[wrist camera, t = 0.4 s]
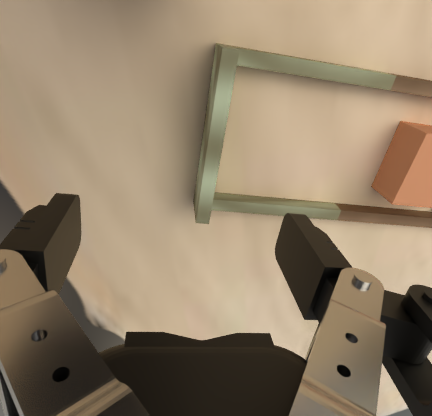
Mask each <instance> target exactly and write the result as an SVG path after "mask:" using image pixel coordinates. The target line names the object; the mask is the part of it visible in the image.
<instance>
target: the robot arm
mask: <svg viewBox="0 0 432 416" xmlns="http://www.w3.org/2000/svg"><path fill="white" fill-rule="evenodd" d="M80 241H81V212H80V198H79V195H73V194H61V193H56V194H55V195H54V196H53V198H52V199H51V200H50V202H49V203H48V205H47V206H44V205H38V206H36V207H35V208H33V209H31V210H29V211H27V212H26V213H25V215H24V216H23V217H22V218H21V220H20V222H18V223H17V225H16V226H15V228H14V229H12V231H11V232H10V233H9V234H8V235H7V237H6V238H5V239H4V240H3V242H2V243H1V244H0V401H1V404H2V408H3V411H4V414H5V416H376V411H377V402H378V393H379V384H380V375H381V366H382V363H383V365H384V367H385V368H386V370H387V372H388V373H389V375H390V377H391V379H392V380H393V382H394V384H395V385H396V387H397V389H398V391H399V392H400V394H401V396H402V397H403V399H404V401H405V403H406V404H407V406H408V408H409V409H410V411H411V413H412V414H413V416H432V364H431V362H430V361H429V360H428V358H427V356H428V354H429V353H430V351H431V350H432V288H430V287H427V286H423V285H412V286H410V287H409V289H408V291H407V293H406V294H405V295H401V294H397V293H394V292H390V291H386V290H384V287H383V285H382V283H381V282H380V281H379V280H378V279H377V278H376V277H375V276H373V275H372V274H370V273H368V272H366V271H363V270H361V269H357V268H352V266H351V265H350V264H349V262H348V261H347V260H346V259H345V257H344V256H343V255H342V253H341V252H340V251H339V250H337V249H338V248H337V247H336V246H335V244H334V243H332V241H331V239H330V238H329V237H328V235H327V234H326V233H324V232H323V231H322V230H320V229H319V228H317V227H315V226H314V225H313V224H312V222H311V221H310V220H309V218H308V217H307V216H306V215H305V214H294V213H287V214H286V215H285V216H284V219H283V222H282V225H281V229H280V232H279V236H278V239H277V242H276V247H275V256H276V260H277V262H278V264H279V266H280V268H281V271H282V273H283V275H284V277H285V279H286V281H287V283H288V286H289V288H290V290H291V292H292V294H293V296H294V298H295V301H296V303H297V305H298V307H299V309H300V311H301V313H302V315H303V318H304V320H318V322H319V324H318V327H317V329H316V331H315V334H314V337H313V339H312V342H311V344H310V347H309V350H308V352H307V355H306V357H305V359H304V358H302V357H301V356H299V355H297V354H295V353H294V352H292V351H289V350H287V349H285V348H282V347H279V346H276V345H274V344H273V341H272V338H271V335H270V333H235V334H230V335H226V336H221V337H217V338H213V339H208V340H196V339H191V338H187V337H183V336H178V335H174V334H169V333H165V332H126V338H125V344H122V345H118V346H115V347H112V348H109V349H106V350H104V351H102V352H99V353H98V352H97V350H96V349H95V347H94V346H93V344H92V343H91V342H90V340H89V339H88V337H87V336H86V334H85V333H84V331H83V330H82V328H81V327H80V326H79V324H78V323H77V321H76V320H75V318H74V317H73V315H72V314H71V312H70V311H69V310H68V308H67V307H66V305H65V304H64V302H63V301H62V299H61V298H60V297H59V292H60V290H61V288H62V285H63V283H64V281H65V279H66V276H67V274H68V272H69V269H70V267H71V265H72V262H73V260H74V258H75V256H76V253H77V251H78V249H79V246H80Z"/></svg>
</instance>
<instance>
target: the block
mask: <svg viewBox="0 0 432 416" xmlns="http://www.w3.org/2000/svg"><path fill="white" fill-rule="evenodd" d="M371 187H373V188H374V189H375V190H376V191H377V192H378V193H380V194H381V195H382V196H383V197H384V198H386V199H387V200H388V201H389V202H390V203H391V204H396V205H407V206H418V207H429V208H432V126H430V125H423V124H417V123H410V122H403V121H400V123H399V125H398V128H397V130H396V132H395V134H394V137H393V139H392V141H391V143H390V146H389V148H388V150H387V152H386V155H385V157H384V159H383V161H382V164H381V166H380V168H379V170H378V173H377V175H376V177H375V179H374V182H373V184H372V186H371Z"/></svg>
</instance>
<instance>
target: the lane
mask: <svg viewBox="0 0 432 416" xmlns="http://www.w3.org/2000/svg"><path fill="white" fill-rule="evenodd" d="M237 65H238V66H244V67H250V68H256V69H262V70H268V71H274V72H280V73H286V74H293V75H299V76H305V77H311V78H317V79H323V80H329V81H335V82H341V83H347V84H354V85H360V86H366V87H372V88H378V89H384V90H390V91H396V92H402V93H408V94H415V95H421V96H427V97H432V81H430V80H424V79H418V78H412V77H407V76H401V75H395V74H389V73H384V72H378V71H372V70H366V69H361V68H355V67H349V66H344V65H338V64H332V63H326V62H321V61H315V60H309V59H303V58H298V57H292V56H286V55H280V54H275V53H269V52H263V51H258V50H252V49H246V48H240V47H235V46H229V45H223V44H217V43H216V47H215V54H214V61H213V68H212V75H211V82H210V89H209V96H208V103H207V110H206V117H205V124H204V131H203V138H202V145H201V152H200V159H199V166H198V173H197V180H196V187H195V194H194V201H193V202H194V211H195V220H196V223H203V224H209V220H210V215H211V210H215V211H228V212H240V213H253V214H265V215H278V216H285V215H286V214H287V213H294V214H305V215H306V216H307V217H308V218H316V219H328V220H341V221H353V222H366V223H378V224H391V225H404V226H416V227H429V228H432V212H426V211H415V210H404V209H392V208H381V207H370V206H359V205H348V204H337V203H326V202H314V201H303V200H292V199H281V198H270V197H259V196H248V195H237V194H225V193H214V192H215V186H216V181H217V175H218V170H219V164H220V158H221V153H222V147H223V141H224V136H225V130H226V124H227V119H228V113H229V107H230V102H231V96H232V90H233V85H234V79H235V74H236V68H237Z"/></svg>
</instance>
